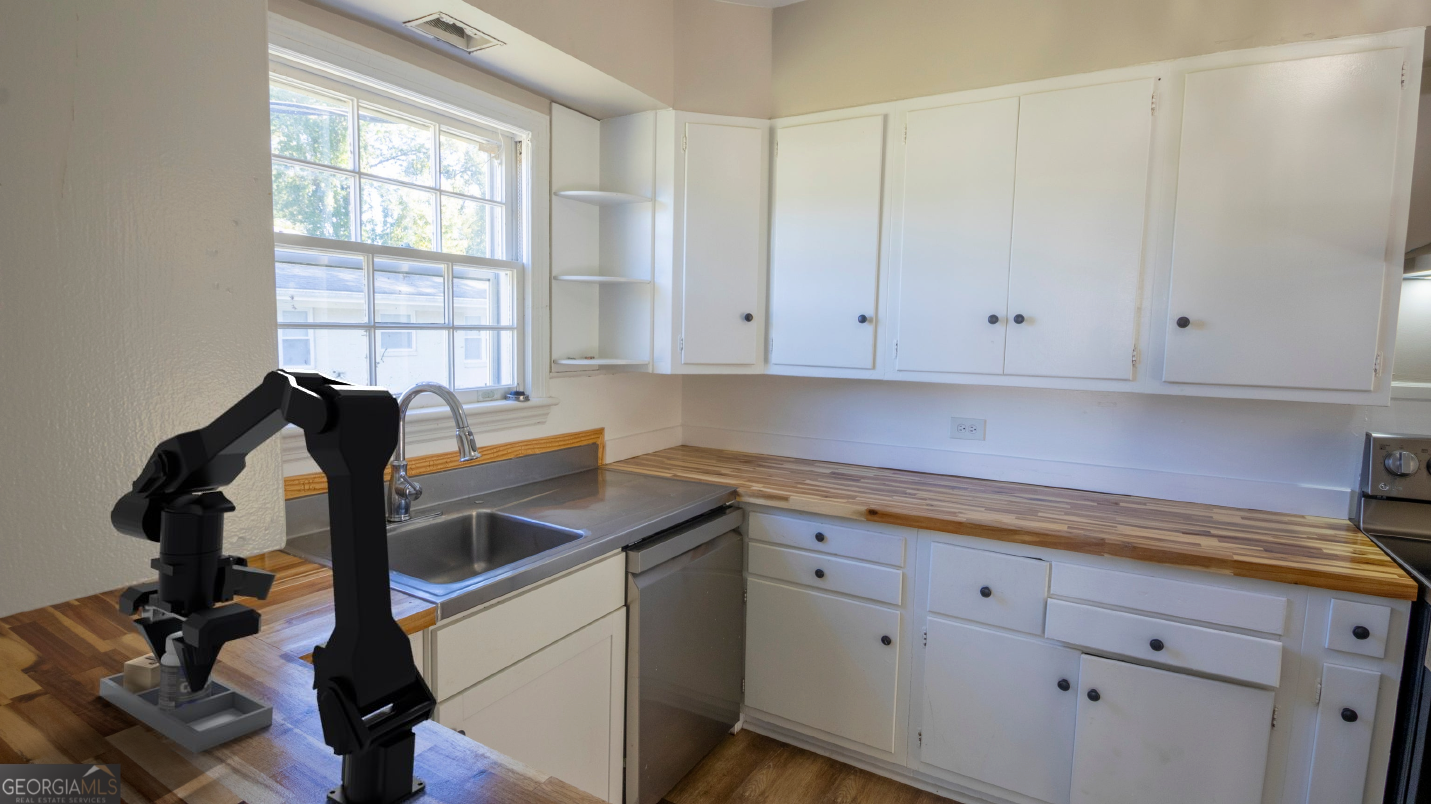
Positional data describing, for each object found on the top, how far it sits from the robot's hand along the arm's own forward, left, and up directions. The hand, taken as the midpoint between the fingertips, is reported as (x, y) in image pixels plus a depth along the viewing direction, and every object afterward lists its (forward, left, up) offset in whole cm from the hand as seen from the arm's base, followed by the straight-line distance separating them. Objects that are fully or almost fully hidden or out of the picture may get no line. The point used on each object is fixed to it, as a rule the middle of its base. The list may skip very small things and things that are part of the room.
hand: (185, 684), depth 78 cm
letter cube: (+7, 0, -3) cm, 8 cm away
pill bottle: (0, 0, -3) cm, 3 cm away
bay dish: (0, 0, -4) cm, 4 cm away
